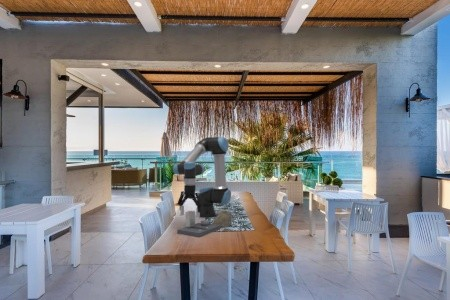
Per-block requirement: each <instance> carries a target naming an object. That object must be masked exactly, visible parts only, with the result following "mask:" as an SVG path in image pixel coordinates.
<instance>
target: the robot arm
mask: <svg viewBox="0 0 450 300" xmlns="http://www.w3.org/2000/svg"><path fill="white" fill-rule="evenodd" d="M229 149H230V148H229V141H228V139H227V138H226V137H224V136H212V137H204V138H202V139H201V140H199V141H198V142H196V143H195V145H194V148H193V149H192V150H191V151H190V152H189V153H188V154H187V156H186V157H184V159H182V161H180V163H175V164H174V165H173V167H172V172H173V173H174V174H175V175H179V176H180V175H181V176H183V175H184V176H183V177H184V181H183V184H184V186H183V189H184V191H180V196H179V197H178V198H179V199H177V203H176V205H178V206H179V211H180V216H184V215H185V213H184V212H185V205H184V204H185V202H186V201H187V200H188V199H190V200H192V201H193V202H194V204H195V206H196V209H195V211H196V212H195V219H196V218H213V217H217V216H216V215H217V214H216V210H215V206H214V204H218V205H227V204H229V202H230V201H231V198H232V191H231V189H229V186H228V185H227V180H226V176H227V175H226V162H225V161H226V157H225V156H226V155H227V152H228V151H229ZM208 152H209V153H210V152H211V155H212V156H213V165H214V180H215V181H214V182H215V185H214V187H213V186H209V187H201V188H200V189H199V190H198V191H199V192H198V191H197V192H196V181H197V180H196V176H200V175H203V174H204V172H205V166H204V165H203V164H200V163H196V162H197V161H198V159H199V158H200V157H201V155H204V154H205V153H208Z"/></svg>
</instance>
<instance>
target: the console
mask: <svg viewBox="0 0 450 300" xmlns="http://www.w3.org/2000/svg"><path fill="white" fill-rule="evenodd" d="M220 230H221V226H220V225H213V224H212V223H210V221H209V220H201V221H200V222H195V226H193V227H190V228H189V227H186V226H185V227H182V228H178V229H177V230H176V233H177V234H178V235H183V236H190V237H196V238H201V237H203V236H206V235H208V234H212V233H214V232H217V231H220Z"/></svg>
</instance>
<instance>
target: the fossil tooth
mask: <svg viewBox="0 0 450 300" xmlns="http://www.w3.org/2000/svg"><path fill="white" fill-rule="evenodd" d="M232 220H233V215H231V214H230V211H228V210H221V211H220V212H219V213H218V215H217V216H215V219H214V220H213V221H212V222H211V224H213V225H220V227H224V228H228V227H229V226H230V224H231V223H232Z"/></svg>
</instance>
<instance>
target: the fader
mask: <svg viewBox="0 0 450 300" xmlns="http://www.w3.org/2000/svg"><path fill="white" fill-rule="evenodd" d="M195 211H196V210H187V211H185V227H189V228H190V227H193V226H195V224H196V212H195Z"/></svg>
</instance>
